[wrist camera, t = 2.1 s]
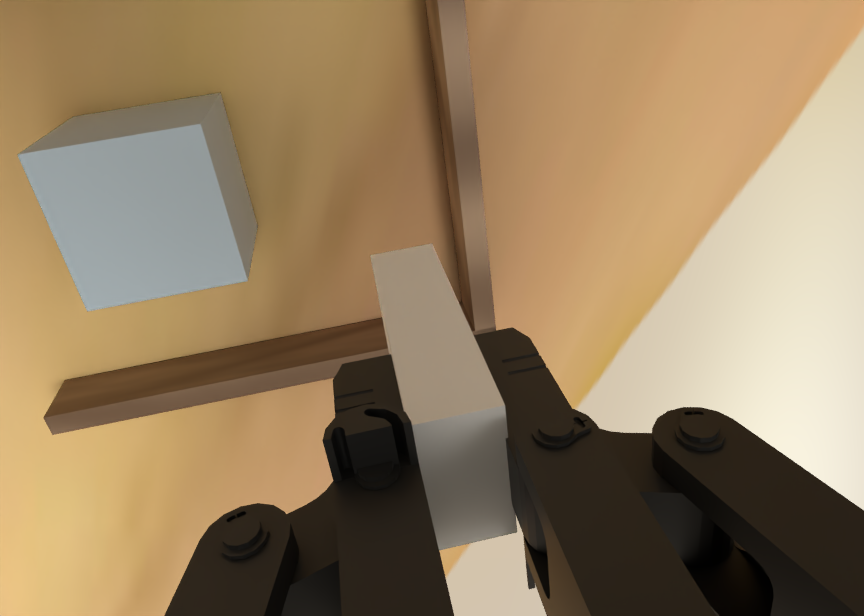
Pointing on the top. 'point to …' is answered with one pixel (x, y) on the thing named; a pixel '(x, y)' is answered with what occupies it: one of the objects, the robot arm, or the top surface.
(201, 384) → the brown flat u-shaped frame
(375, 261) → the robot arm
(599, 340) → the top surface
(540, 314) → the top surface
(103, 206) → the cube
